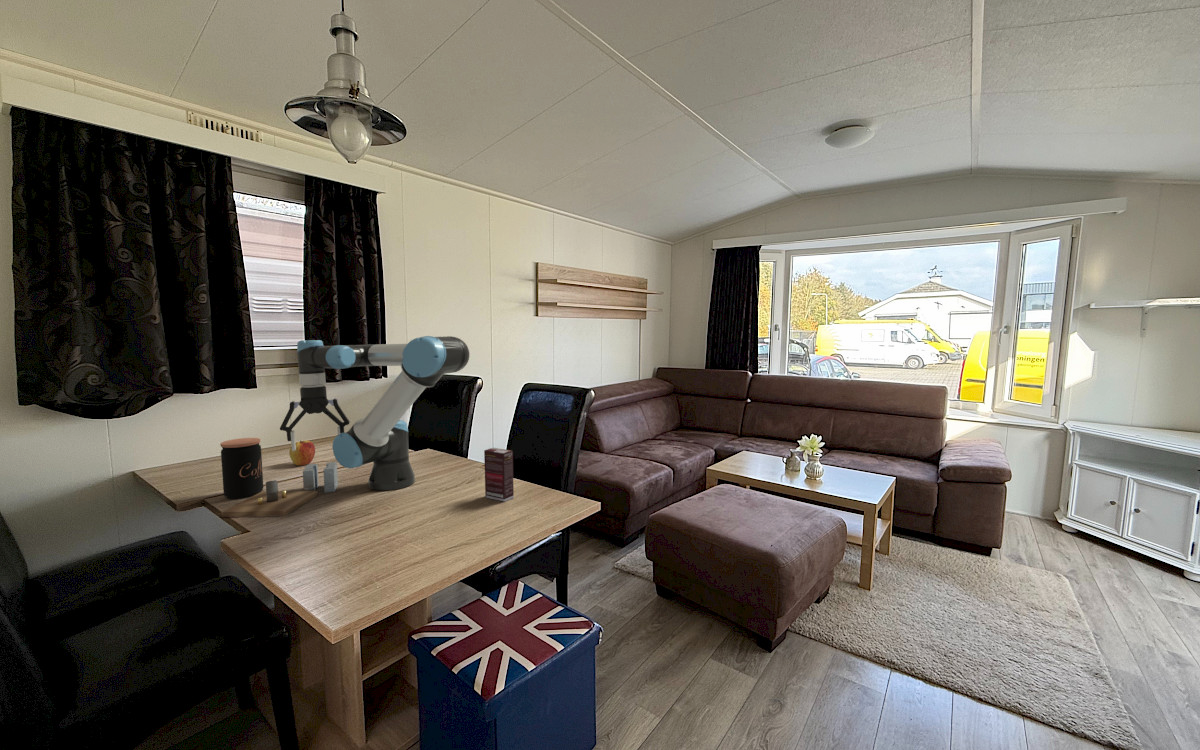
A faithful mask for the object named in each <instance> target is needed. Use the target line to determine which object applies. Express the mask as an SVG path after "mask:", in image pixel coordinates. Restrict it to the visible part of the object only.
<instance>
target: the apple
mask: <svg viewBox="0 0 1200 750" xmlns="http://www.w3.org/2000/svg"><path fill="white" fill-rule="evenodd" d="M295 444H296V450H295V451H292V445H291V446H290V449H289V453H288V454H289V457H290V459H291V461H292V463H293V464H294V465H295V466H298V467H300V466H305V465H306V466H307V465H309V464H311V463H312V461H313V459H314V458H315V454H316V448H315V445H314V443H313V442H312V441H310V440H299V441H298V442H295Z"/></svg>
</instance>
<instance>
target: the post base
mask: <svg viewBox="0 0 1200 750" xmlns="http://www.w3.org/2000/svg"><path fill="white" fill-rule="evenodd" d="M278 485H279V484H278V480H274V479H273V480H269V481H268V480H267V481H266V482H265V491H263V490H262V491H261V492H260V493H258V494H256V495H254V496H252V497H248V498H245V499H243V500H242V501H240V502H238V503H236V504H234V505H233V506H230V507H229V508H226V509H225V510H222V511H221V518H229V517H230V518H231V517H232V518H234V517H235V518H237V517H239V518H240V517H241V518H243V517H244V518H245V517H246V518H247V517H248V518H249V517H285V516H287V515H289V514H290V513H292V512H293V511H295V510H297V509H298V508H300V507H301V506H303V505H305V504H307V503H308V502H309V501H311V500H313V499H314V498H316V497H317V496H319V492H318V490H315V491H304V490H285V491H286V495H287V497H286V498H282V491H283V490H281V491H280V490H279V488H278V487H279V486H278ZM259 497H262V498H263V504H262V505H258V498H259Z"/></svg>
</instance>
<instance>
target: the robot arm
mask: <svg viewBox="0 0 1200 750" xmlns="http://www.w3.org/2000/svg"><path fill="white" fill-rule="evenodd" d="M296 346H297V351H296V354H297V365H298V378H299V379H298V380H299V386H301V387H300V388H299V393H300V401H294V400H292V401H291V402H289V409H288V411H287V413H286V415H285V416H284V419H283V421H282V423H281V425H280V427H279V430H280V431H284V432H286V439H287V442H290V443H291V446H292V451H295V450H296V444H295V443H296V433H295V430H293V429H294V428H295V426H296V425H297V424H298V423H299V422H300V420H301V419H302V418H303V417H304V416H305V415H306V414H309V415H312V414H313V415H314V414H321V413H324V414H325V415H326V416H327V417H328V418H330V419H331V420H332V421H333V422H334V423H335V424H336V425H337V429H336V430H337V435H336V436H335V437H334V438H333V441H332V445H331V447H332V451H333V452H332V453H333V456H334V458H335V460H336V462H337V464H339V465H340V466H342V467H344V468H346V469H354V468H360V467H362V466H365V465H367V464H370V463H372V468H371V471H370V475H369V478H368V488H369V489H371V490H375V491H389V490H390V491H391V490H393V491H394V490H399V489H403V488H407V487H410V486H411V485H413V484H414V483H415V482H416V481H415V480H416V477H415V472H414V470H413V467H412V465H411V463H410V457H409V456H410V455H409V454H410V453H409V451H410V449H409V447H410V446H409V428H408V427H409V425H408V423H407V422H406V421H405V420H401V419H402V418H403V416H404V415H405V414H406V412H407V411H409V409H410V408H411V406H413V404H414V403H415V402H416V401H417V399H418V398H419V397H420V395H421V394H422V393H423V392H424V391H425V390H426V389H427V388H433V387H434V386H435V385H436V384H437V383H438V382H439V380H440V379H441V378H442V377H443V376H444V375H446V374H452V373H457V372H459V371H462V370H463V369H464V368H466V366H467V364H468V363H469V361H470V349H469V347H468V344H467V343H466V342H465V341H464V340H462V339H461V338H459V337H457V336H451V335H450V336H449V335H447V336H431V335H425V336H420V337H416V338H413V339H411V340H410V341H409V342H408V343H385V344H384V343H382V344H378V343H377V344H371V343H369V344H368V343H366V344H348V345H347V344H345V345H343V344H340V345H339V344H338V345H324V341H322V339H321V340H320V339H317V340H315V339H312V340H309V339H308V340H305V339H304V340H303V339H302V340H299V341H298V342H297V345H296ZM376 366H377V367H378V366H379V367H380V366H383V367H388V366H389V367H397V366H398V367H400V368H401V372H400V373H399V374H398V376H397V377H396V378H395V379H394V381H393V382H392V383H391V385H390V386H389V387H388V389H387V390H386V391H385V392H384V393H383V395H382V396H381V397H380V399H378V401H377V402H376V404H375V405H374V406H373V407H372V409H371V410H370V411H369V412H368V413H367V415H366V416H365V417H364V418H360V419H357V420H356V421H355V422H354V423H353V424H352V426H351V427H350V429H349V430H348V431H346V432H345V426H348V425H350V422H351V421H350V420H349V418H348V417H347V416H346V414H345V412H344V411H343V409H342V408H341V406H340V404H339V402H338V401H339V400H338V398H336V397H335V398H333V399H328V396H327V395H328V394H327V386H326V384H327V383H326V382H327V381H326V370H325V369H336V370H340V369H349V368H356V367H357V368H358V367H376ZM329 404H330V405H331V406H333V407H334V409H335V411H336V412H337V414H338V415H339V416H340V418H341V419H342V420H341V419H339V418H338V416H336V415H335V414H334V413H332V411H330V410H329V408H328V407H327V406H328V405H329ZM298 406H299V407H300V408H302V411H301V412H300V413H299V414H298V415H297V416H296V417H295V419H294V420H293V421H292V422H291V423H290V424H289V426H287V425H288V423H289V422H290V419H291V417H292V415H293V413H294V411H295V409H297V408H298Z"/></svg>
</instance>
